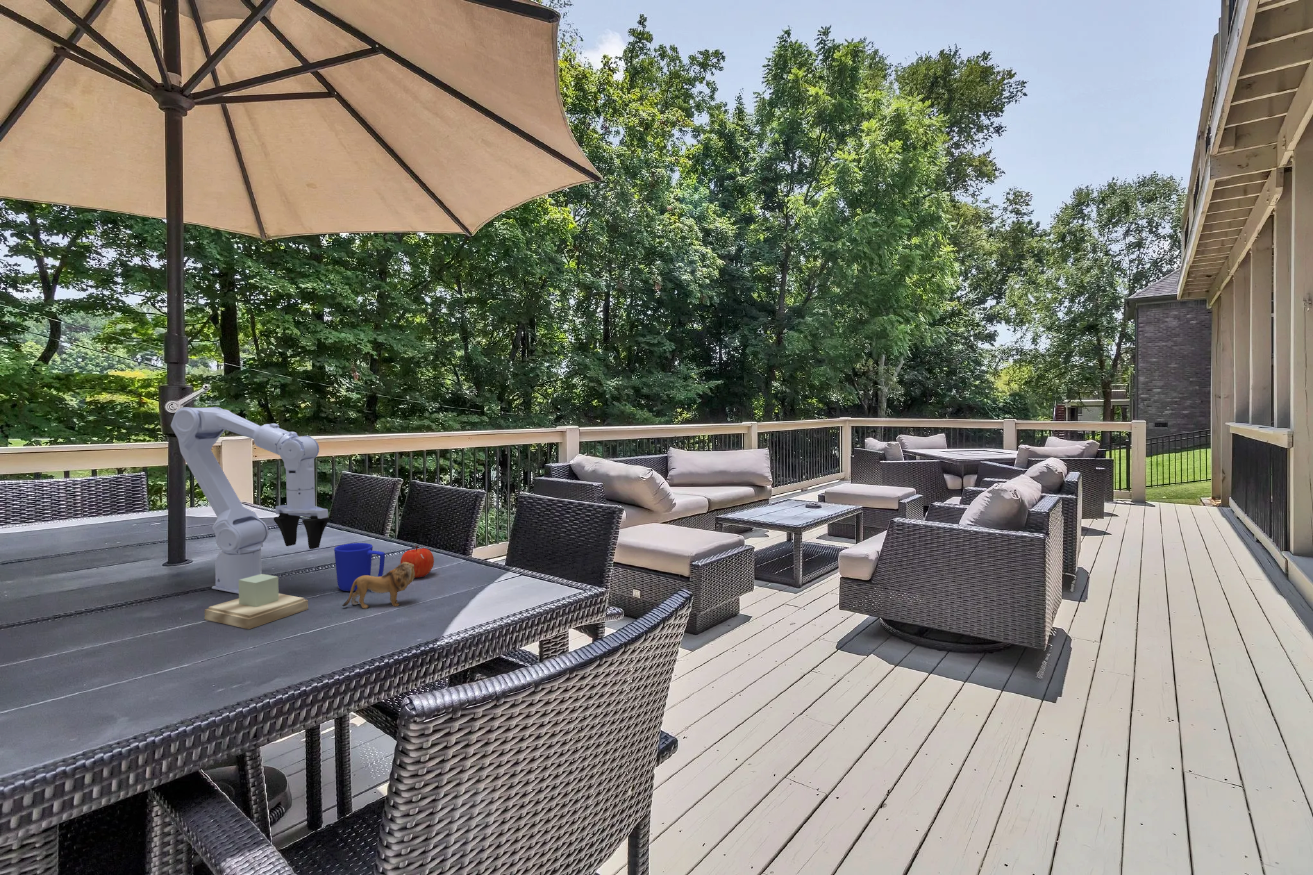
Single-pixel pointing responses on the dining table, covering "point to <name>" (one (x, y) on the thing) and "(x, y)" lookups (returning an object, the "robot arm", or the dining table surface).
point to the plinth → (255, 611)
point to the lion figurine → (383, 584)
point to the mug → (355, 563)
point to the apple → (419, 561)
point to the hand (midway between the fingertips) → (302, 546)
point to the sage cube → (258, 590)
